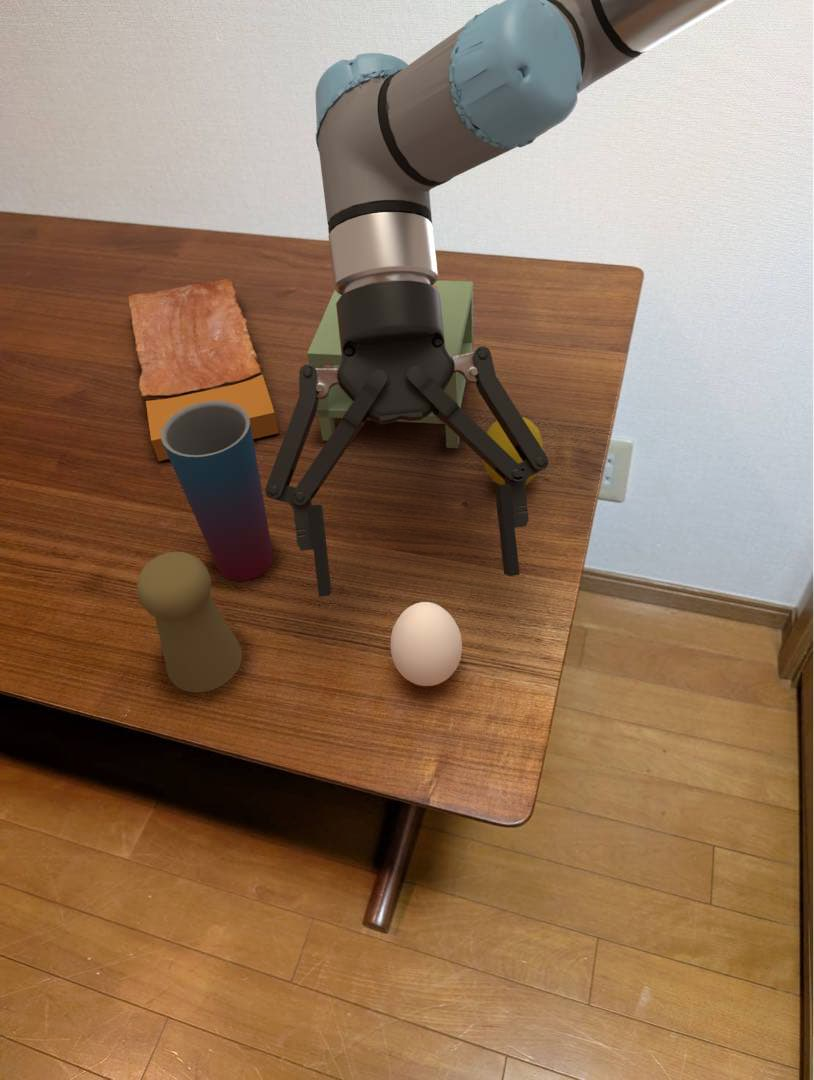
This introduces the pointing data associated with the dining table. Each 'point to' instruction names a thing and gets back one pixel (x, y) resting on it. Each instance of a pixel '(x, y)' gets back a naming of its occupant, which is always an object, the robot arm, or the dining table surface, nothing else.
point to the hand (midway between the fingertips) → (418, 585)
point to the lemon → (509, 448)
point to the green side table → (457, 342)
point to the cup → (222, 484)
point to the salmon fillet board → (197, 355)
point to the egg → (426, 644)
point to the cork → (188, 622)
